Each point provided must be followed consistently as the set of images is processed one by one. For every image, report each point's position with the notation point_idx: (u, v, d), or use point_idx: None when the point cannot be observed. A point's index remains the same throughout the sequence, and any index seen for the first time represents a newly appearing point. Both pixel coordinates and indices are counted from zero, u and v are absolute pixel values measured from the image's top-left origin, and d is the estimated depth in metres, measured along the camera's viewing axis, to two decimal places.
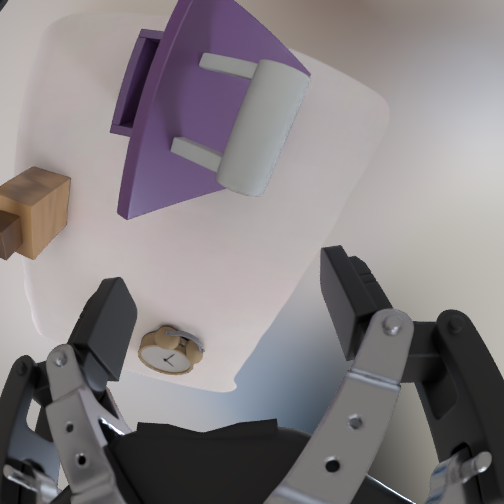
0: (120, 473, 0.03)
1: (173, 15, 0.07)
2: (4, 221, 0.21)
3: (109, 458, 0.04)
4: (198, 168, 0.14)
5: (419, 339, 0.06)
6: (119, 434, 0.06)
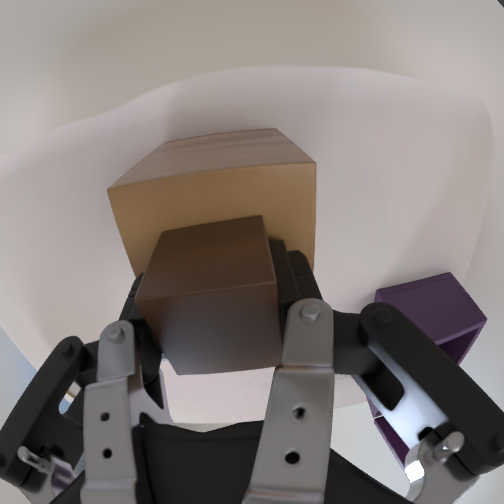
0: (143, 477, 0.03)
1: None
2: None
3: (138, 460, 0.04)
4: None
5: (343, 330, 0.07)
6: None
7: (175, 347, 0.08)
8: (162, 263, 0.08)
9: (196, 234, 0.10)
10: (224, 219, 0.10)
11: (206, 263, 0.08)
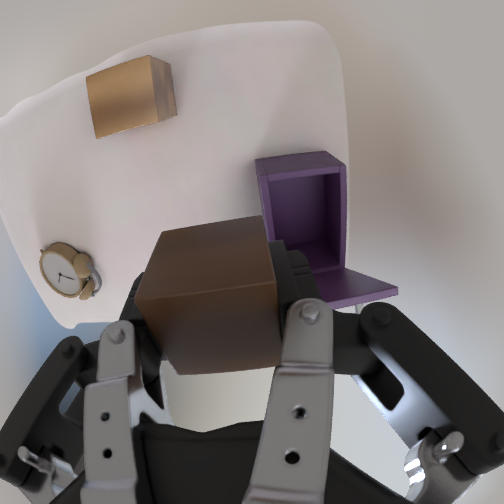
0: (143, 477, 0.03)
1: (380, 292, 0.23)
2: None
3: (138, 461, 0.04)
4: None
5: (343, 330, 0.07)
6: None
7: (175, 347, 0.08)
8: (162, 263, 0.08)
9: (196, 234, 0.10)
10: (121, 79, 0.22)
11: (206, 263, 0.08)
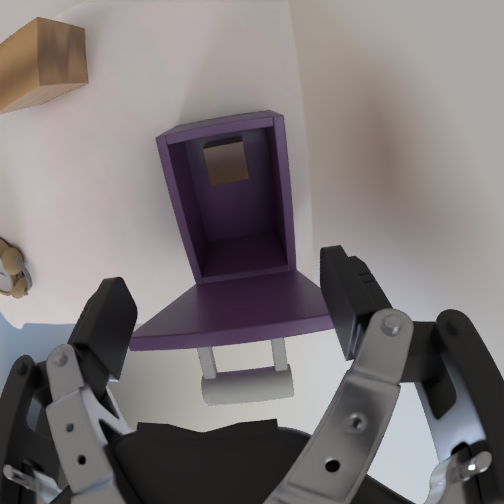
0: (120, 473, 0.03)
1: (308, 321, 0.12)
2: None
3: (110, 458, 0.04)
4: None
5: (418, 339, 0.06)
6: (119, 434, 0.06)
7: (212, 168, 0.26)
8: (209, 144, 0.26)
9: (219, 140, 0.27)
10: (12, 48, 0.11)
11: (223, 142, 0.26)
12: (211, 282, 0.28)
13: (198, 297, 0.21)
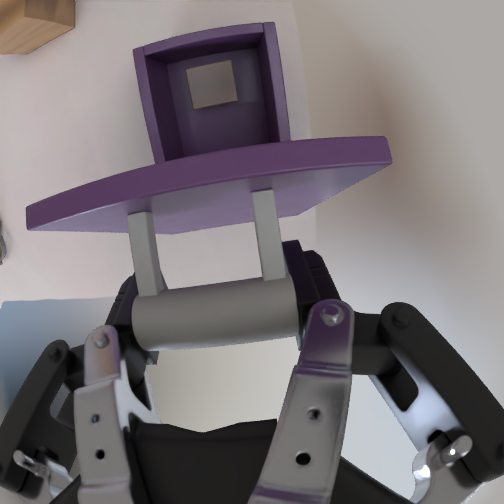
0: (137, 475, 0.03)
1: (319, 144, 0.06)
2: None
3: (131, 459, 0.04)
4: None
5: (363, 330, 0.07)
6: None
7: (195, 90, 0.20)
8: None
9: None
10: None
11: None
12: None
13: None
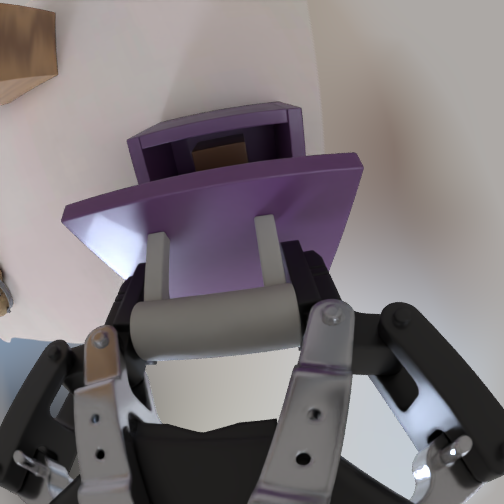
0: (138, 476, 0.03)
1: (302, 159, 0.08)
2: None
3: (130, 459, 0.04)
4: None
5: (363, 331, 0.07)
6: None
7: None
8: (201, 145, 0.20)
9: (214, 139, 0.21)
10: None
11: (219, 142, 0.20)
12: None
13: None
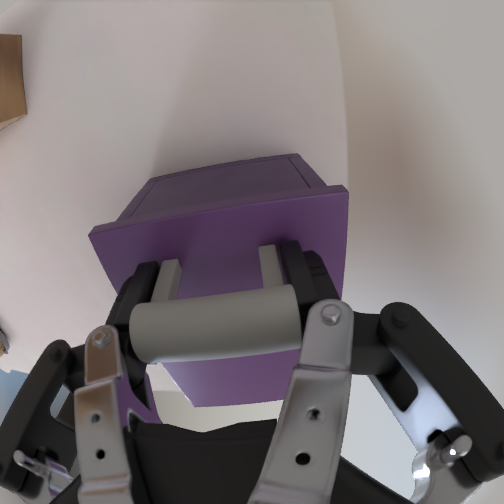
0: (138, 475, 0.03)
1: (296, 190, 0.10)
2: None
3: (130, 459, 0.04)
4: None
5: (363, 330, 0.07)
6: None
7: None
8: None
9: None
10: None
11: None
12: None
13: None
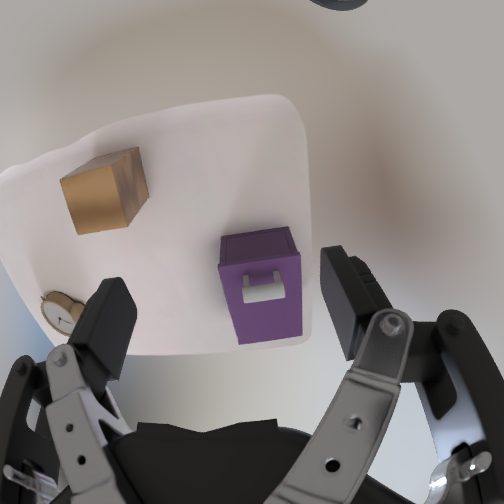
0: (120, 473, 0.03)
1: (285, 254, 0.36)
2: None
3: (110, 459, 0.04)
4: (238, 291, 0.38)
5: (419, 339, 0.06)
6: (119, 434, 0.06)
7: None
8: None
9: None
10: (90, 186, 0.27)
11: None
12: None
13: None
